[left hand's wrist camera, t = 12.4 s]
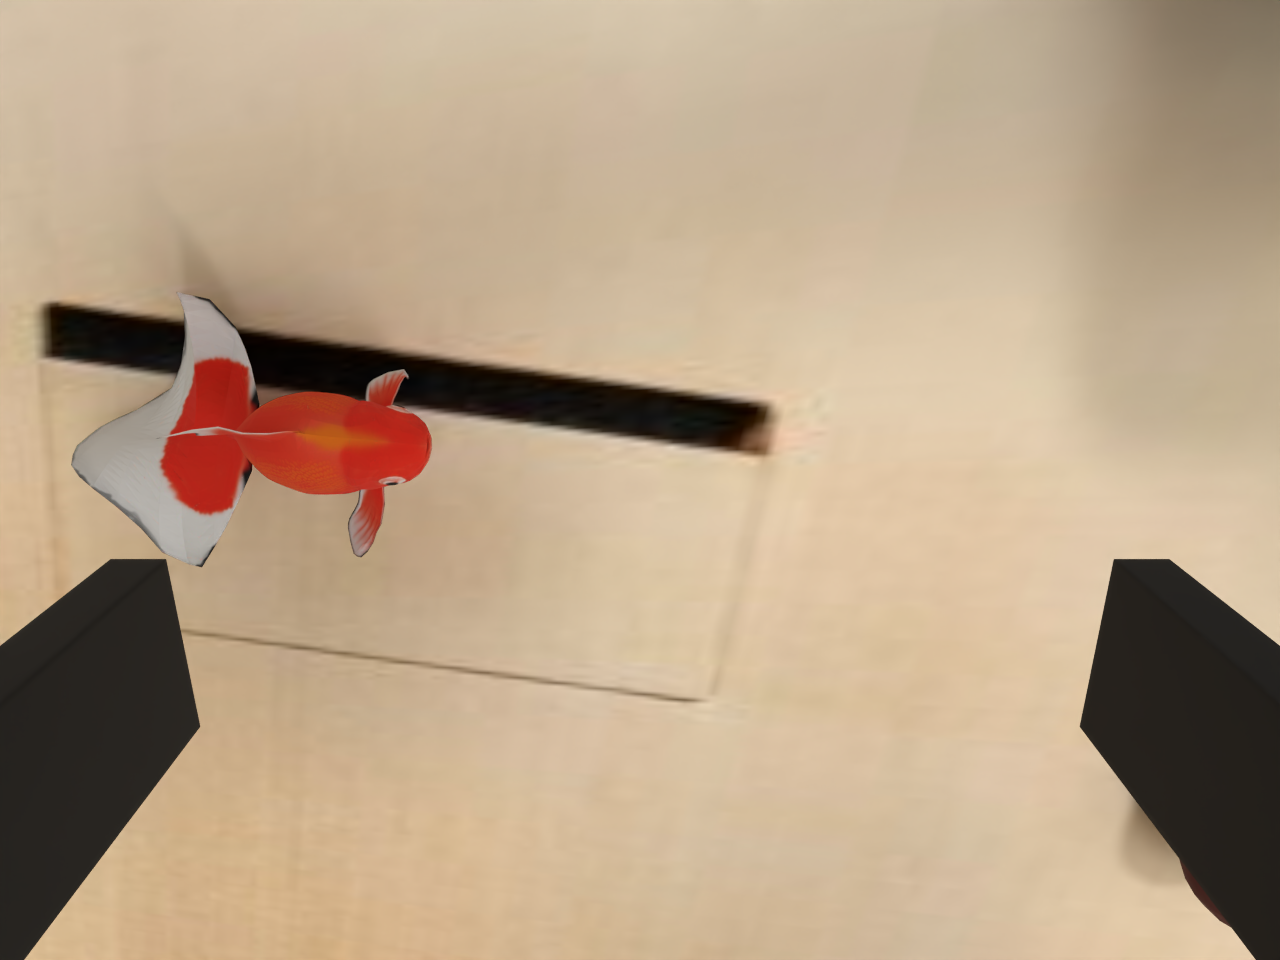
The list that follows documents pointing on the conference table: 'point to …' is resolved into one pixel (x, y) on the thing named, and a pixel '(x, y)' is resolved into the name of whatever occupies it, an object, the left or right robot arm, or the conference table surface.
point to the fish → (246, 445)
